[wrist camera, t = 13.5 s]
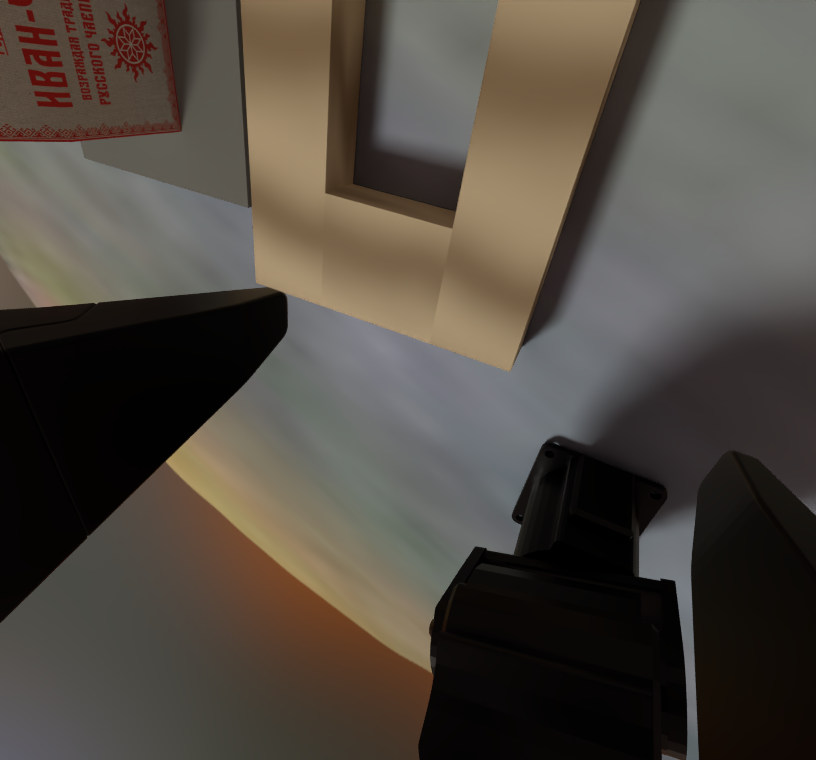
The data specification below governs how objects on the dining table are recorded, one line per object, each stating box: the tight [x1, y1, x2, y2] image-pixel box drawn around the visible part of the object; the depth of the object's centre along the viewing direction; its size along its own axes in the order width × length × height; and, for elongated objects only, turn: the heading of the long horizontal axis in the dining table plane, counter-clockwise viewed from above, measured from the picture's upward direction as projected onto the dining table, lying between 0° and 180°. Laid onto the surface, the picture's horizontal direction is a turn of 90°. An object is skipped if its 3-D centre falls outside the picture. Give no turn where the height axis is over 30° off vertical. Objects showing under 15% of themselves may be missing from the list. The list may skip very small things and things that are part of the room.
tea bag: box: [0, 0, 181, 142], centre depth 18 cm, size 4×7×10 cm, turn 172°
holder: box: [240, 0, 641, 372], centre depth 18 cm, size 20×14×2 cm
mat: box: [81, 0, 252, 208], centre depth 22 cm, size 14×12×1 cm
